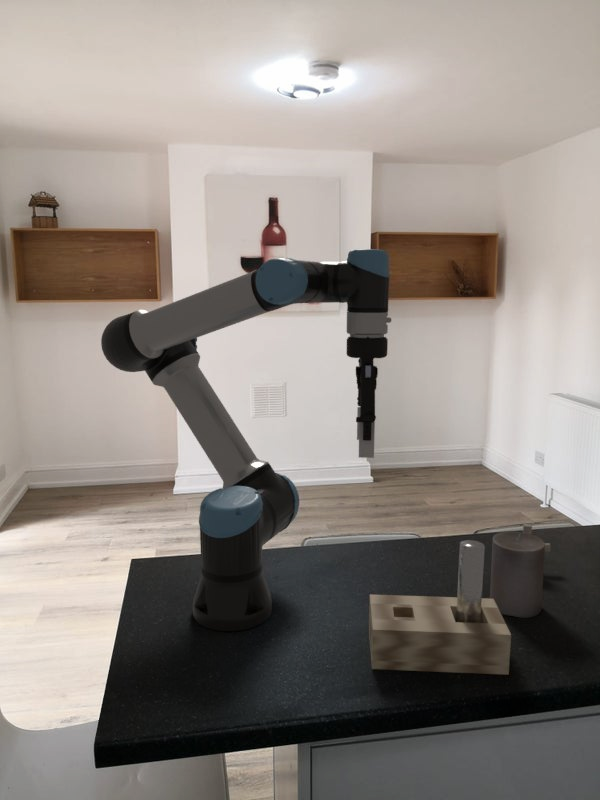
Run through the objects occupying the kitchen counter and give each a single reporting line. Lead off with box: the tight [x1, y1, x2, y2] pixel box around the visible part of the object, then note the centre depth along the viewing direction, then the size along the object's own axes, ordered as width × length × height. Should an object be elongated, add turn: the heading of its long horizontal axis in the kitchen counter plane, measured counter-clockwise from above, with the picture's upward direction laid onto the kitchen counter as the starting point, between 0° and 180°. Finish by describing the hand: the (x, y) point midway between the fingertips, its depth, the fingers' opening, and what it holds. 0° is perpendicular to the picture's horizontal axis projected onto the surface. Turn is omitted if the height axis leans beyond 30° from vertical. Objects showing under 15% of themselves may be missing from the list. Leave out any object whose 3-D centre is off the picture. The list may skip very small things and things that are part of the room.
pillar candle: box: [489, 530, 545, 619], centre depth 122 cm, size 10×10×15 cm
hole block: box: [368, 594, 512, 676], centre depth 108 cm, size 22×12×7 cm, turn 86°
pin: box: [456, 539, 486, 623], centre depth 106 cm, size 4×4×18 cm
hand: (364, 448), depth 119 cm, fingers open, 13 cm apart
